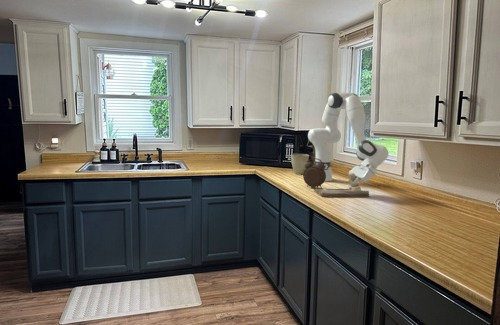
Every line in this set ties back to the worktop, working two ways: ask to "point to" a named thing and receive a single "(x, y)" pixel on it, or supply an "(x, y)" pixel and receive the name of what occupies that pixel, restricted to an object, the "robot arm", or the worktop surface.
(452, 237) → the worktop surface
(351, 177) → the stacked beige blocks
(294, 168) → the plant pot
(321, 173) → the alarm clock
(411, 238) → the worktop surface
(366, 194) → the walnut board
